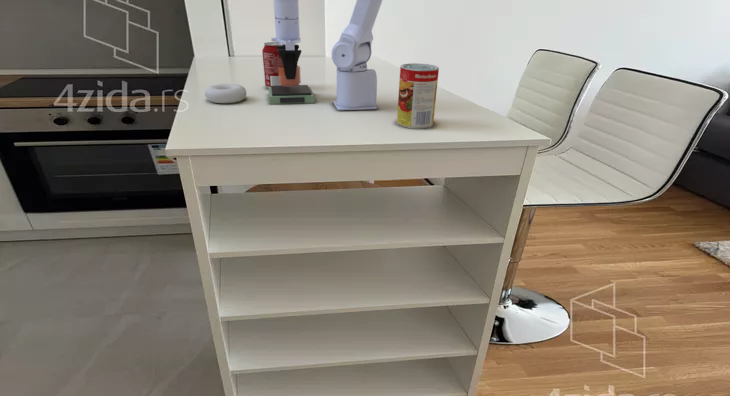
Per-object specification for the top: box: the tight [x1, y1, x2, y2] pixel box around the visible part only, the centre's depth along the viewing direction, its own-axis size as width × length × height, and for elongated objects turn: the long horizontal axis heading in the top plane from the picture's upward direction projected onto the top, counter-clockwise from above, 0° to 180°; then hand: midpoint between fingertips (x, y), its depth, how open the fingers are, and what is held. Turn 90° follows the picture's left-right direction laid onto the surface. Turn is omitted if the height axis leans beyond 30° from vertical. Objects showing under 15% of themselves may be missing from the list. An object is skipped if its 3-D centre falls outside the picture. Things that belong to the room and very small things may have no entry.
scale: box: [268, 84, 316, 105], centre depth 109 cm, size 11×11×2 cm
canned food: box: [396, 62, 440, 130], centre depth 89 cm, size 8×8×12 cm
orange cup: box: [278, 64, 302, 87], centre depth 107 cm, size 5×5×4 cm
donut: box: [204, 83, 247, 104], centre depth 106 cm, size 10×4×10 cm
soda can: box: [262, 41, 284, 89], centre depth 118 cm, size 7×7×12 cm
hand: (289, 76), depth 107 cm, fingers closed on orange cup, 5 cm apart
